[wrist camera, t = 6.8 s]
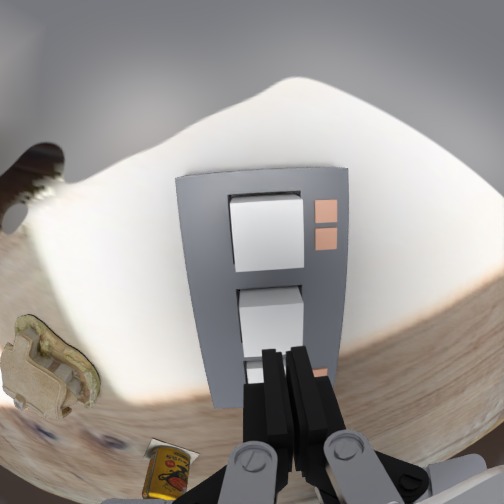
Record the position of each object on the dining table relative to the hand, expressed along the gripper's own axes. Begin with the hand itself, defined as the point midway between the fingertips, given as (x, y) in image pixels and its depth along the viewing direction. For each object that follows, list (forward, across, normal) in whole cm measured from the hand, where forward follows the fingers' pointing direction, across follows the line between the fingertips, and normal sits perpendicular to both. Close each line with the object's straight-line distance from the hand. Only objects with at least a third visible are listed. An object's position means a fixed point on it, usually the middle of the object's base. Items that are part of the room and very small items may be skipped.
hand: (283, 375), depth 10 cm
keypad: (+14, 0, +4) cm, 14 cm away
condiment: (+14, +16, +32) cm, 38 cm away
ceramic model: (+14, +27, +12) cm, 33 cm away
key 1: (+12, 0, -3) cm, 13 cm away
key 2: (+12, 0, +4) cm, 13 cm away
